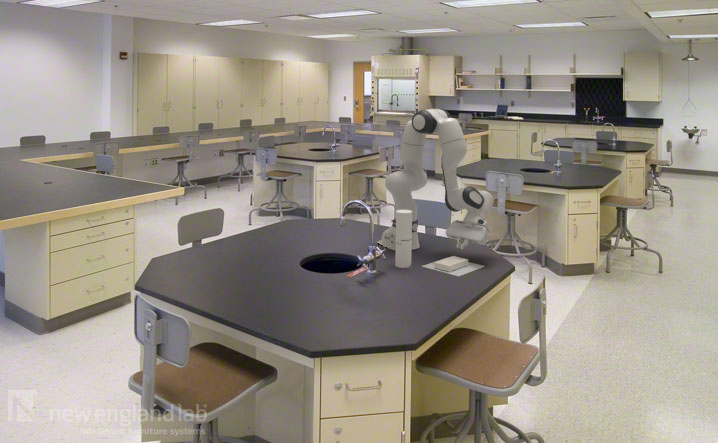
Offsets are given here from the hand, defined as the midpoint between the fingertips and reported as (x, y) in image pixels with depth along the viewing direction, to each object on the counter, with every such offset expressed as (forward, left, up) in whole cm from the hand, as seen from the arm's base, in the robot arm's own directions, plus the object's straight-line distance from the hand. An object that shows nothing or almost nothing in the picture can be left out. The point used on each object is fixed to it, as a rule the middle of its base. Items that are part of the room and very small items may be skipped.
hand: (459, 248), depth 251 cm
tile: (0, +1, -6) cm, 6 cm away
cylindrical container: (-18, -17, -9) cm, 26 cm away
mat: (0, -4, -8) cm, 9 cm away
